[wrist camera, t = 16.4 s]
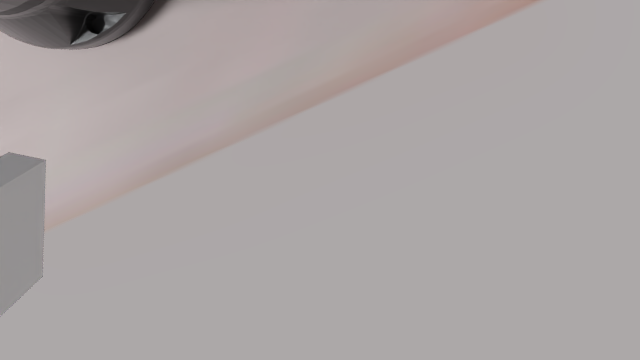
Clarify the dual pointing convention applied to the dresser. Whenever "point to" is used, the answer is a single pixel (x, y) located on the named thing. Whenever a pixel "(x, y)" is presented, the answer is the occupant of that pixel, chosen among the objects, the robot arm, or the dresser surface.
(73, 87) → the dresser surface
